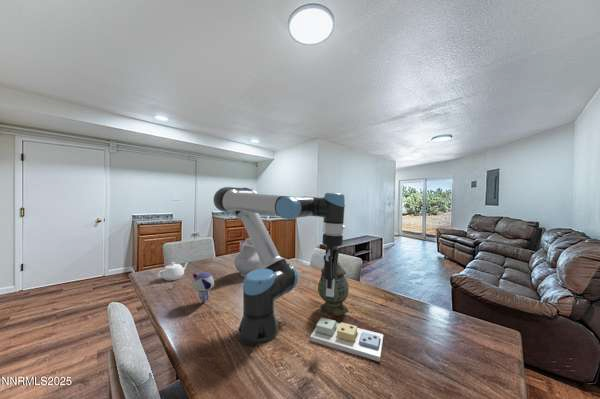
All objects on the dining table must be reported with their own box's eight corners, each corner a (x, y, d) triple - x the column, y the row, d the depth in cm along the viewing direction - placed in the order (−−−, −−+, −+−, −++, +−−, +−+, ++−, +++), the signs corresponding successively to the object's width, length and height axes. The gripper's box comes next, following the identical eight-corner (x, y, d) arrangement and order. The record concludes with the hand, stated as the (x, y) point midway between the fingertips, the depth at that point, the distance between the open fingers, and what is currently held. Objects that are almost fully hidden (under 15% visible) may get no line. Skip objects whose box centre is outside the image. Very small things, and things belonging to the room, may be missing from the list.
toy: (218, 303, 111) (218, 272, 111) (198, 310, 104) (198, 277, 103) (208, 296, 118) (208, 267, 118) (189, 302, 111) (189, 272, 111)
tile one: (316, 331, 84) (316, 324, 84) (321, 323, 89) (321, 316, 89) (331, 335, 81) (331, 328, 81) (336, 327, 87) (336, 320, 87)
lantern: (346, 321, 96) (347, 263, 96) (314, 315, 101) (315, 259, 100) (350, 306, 109) (351, 255, 109) (322, 301, 114) (323, 252, 114)
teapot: (182, 271, 155) (182, 257, 155) (194, 275, 149) (194, 260, 149) (152, 281, 138) (152, 264, 138) (163, 285, 132) (163, 268, 132)
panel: (309, 343, 81) (310, 336, 81) (321, 324, 93) (321, 318, 93) (379, 364, 71) (380, 356, 71) (383, 341, 83) (383, 334, 83)
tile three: (359, 348, 77) (359, 340, 77) (362, 338, 83) (362, 331, 83) (377, 353, 75) (377, 345, 75) (379, 343, 80) (379, 335, 80)
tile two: (336, 337, 81) (337, 330, 81) (341, 328, 86) (341, 321, 86) (353, 342, 78) (353, 334, 78) (356, 332, 84) (357, 325, 83)
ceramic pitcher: (258, 283, 140) (262, 243, 140) (227, 280, 140) (231, 240, 140) (264, 271, 162) (267, 237, 162) (237, 269, 162) (241, 234, 162)
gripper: (338, 238, 77) (334, 305, 77) (346, 232, 89) (343, 291, 89) (317, 235, 80) (314, 300, 81) (328, 230, 92) (325, 287, 92)
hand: (329, 295), depth 85 cm, fingers closed
